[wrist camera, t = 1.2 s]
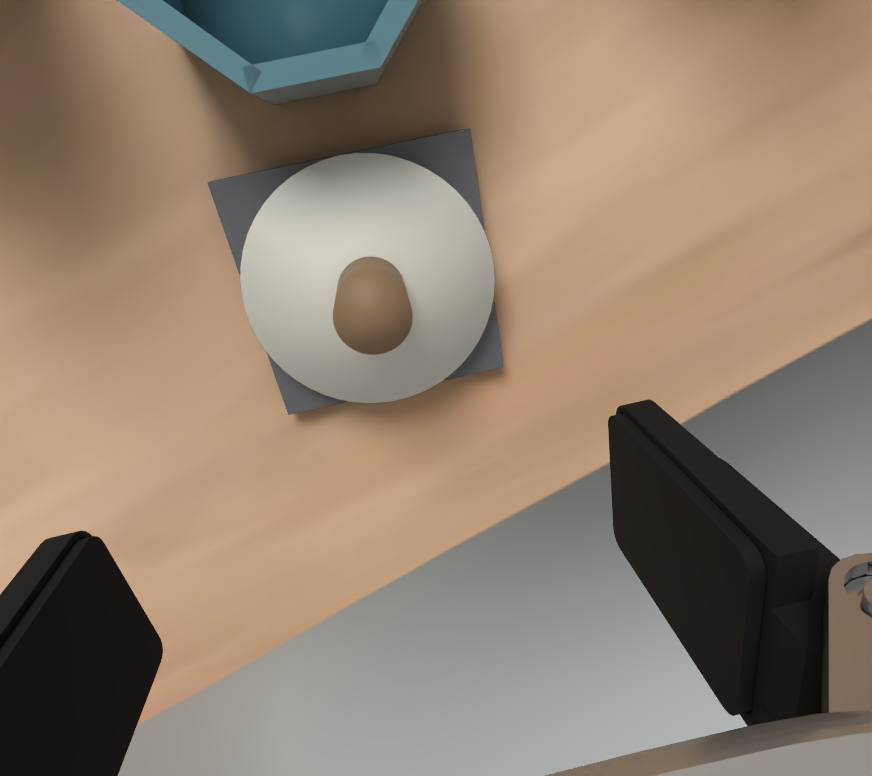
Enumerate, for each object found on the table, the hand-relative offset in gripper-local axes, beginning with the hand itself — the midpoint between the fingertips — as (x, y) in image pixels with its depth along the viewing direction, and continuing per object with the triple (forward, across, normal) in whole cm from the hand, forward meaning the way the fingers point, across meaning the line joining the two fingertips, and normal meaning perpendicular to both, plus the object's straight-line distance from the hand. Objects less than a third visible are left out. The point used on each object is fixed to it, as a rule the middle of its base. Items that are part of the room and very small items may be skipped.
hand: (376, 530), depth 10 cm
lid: (+19, 0, 0) cm, 19 cm away
